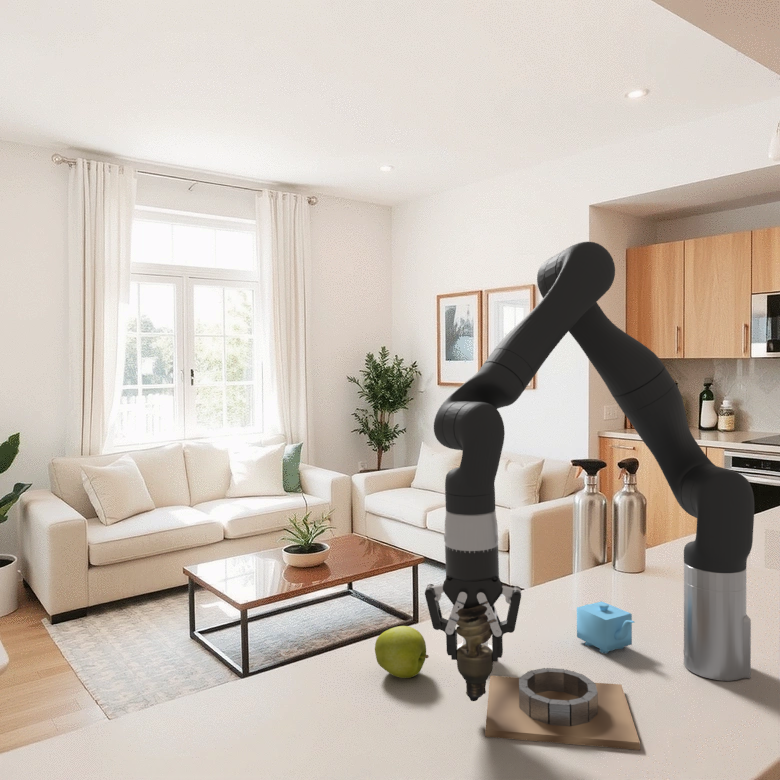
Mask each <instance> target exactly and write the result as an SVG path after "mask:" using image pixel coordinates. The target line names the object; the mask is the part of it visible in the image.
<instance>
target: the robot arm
mask: <svg viewBox="0 0 780 780" xmlns="http://www.w3.org/2000/svg"><path fill="white" fill-rule="evenodd" d="M536 276H537V277H536V278H537V279H536V283H537V287H538V290H539V293H540V295H541V297H542V299H541V300H540V302H539V303H537V305H536V306H535V307H534V308H533V309H532V310H531V311H530V312H529V313H528V314H527V315H526V316H524V318H523V319H522V320H521V321H520V322H519V323H518V324H516V325H515V327H513V328H512V329H511V330H510V331H509V333H507V334H506V335H505V336H504V337H503V339H502V340H501V341H500V342H499V343H498V344H497V346H496V347H495V348H494V349H493V351H492V352H491V353H490V355H489V356H488V357H487V359H486V360H485V361H484V363H483V364H481V365H482V366H481V367H480V368H479V370H478V371H477V373H475V374H473V376H472V377H470V378H469V379H468V380H467V381H465V382H464V383H462V385H460V386H459V387H457V389H455V391H454V392H453V393H451V394H450V395H449V396H448V397H447V398H446V399H445V400H444V402H442V404H441V405H440V407H439V409H438V410H437V413H436V415H435V416H434V421H433V434H434V436H435V438H436V440H437V442H439V444H441V445H442V446H444V447H446V448H448V449H451V450H457V451H462V453H461V454H462V455H461V459H460V460H461V461H460V465H459V467H455V468H452V469H451V470H449V471H448V472H447V473H446V476H445V482H444V483H445V484H444V492H445V494H444V495H445V498H444V500H445V517H444V518H445V519H444V535H443V541H444V551H445V552H444V554H445V555H444V556H445V558H444V559H445V579H444V580H443V583H440V584H435V585H434V584H433V583H429V584H427V585H426V588H425V590H424V596H425V601H426V605H427V609H428V612H429V613H428V614H429V616H430V620H431V621H430V622H431V624H432V628H433V629H434V630H436V631H439V630H440V631H442V632H444V633H445V637H446V638H445V640H446V641H445V643H446V645H445V646H446V654H447V656H450V657H451V659H450V660H452V661H453V660H455V661H457V654H456V652H457V645H458V634H457V632H456V628H457V627H456V626H457V623H456V622H457V621H458V620H459V616H458V614H457V613H456V612H458V610H459V609H469V608H474V607H476V606H479V605H481V606H486V607H487V611H486V612H485V615H486V616H487V617H488V620H487V621H488V623H489V624H490V626H491V629H492V631H493V633H492V635H491V645H492V652H493V663H495V662H497V663H499V658H502V657H503V652H504V651H503V650H504V649H503V648H504V646H503V644H504V643H503V636H504V635H505V634H507V633H514V631H515V629H516V626H517V625H516V624H517V620H518V619H517V618H518V614H519V609H520V604H521V599H522V588H521V587H520V586H518V585H514V586H513V587H511V586H507V585H503V582H502V581H501V579H500V567H499V566H500V563H499V559H500V558H499V530H498V520H497V515H496V513H497V512H496V490H495V482H496V481H495V480H496V476H497V474H498V473H497V472H498V470H499V465H500V460H501V455H502V452H503V447H504V443H505V424H504V421H503V417H502V415H501V413H500V412H499V410H498V409H501V408H505V407H508V406H511V405H513V404H514V403H516V401H518V399H519V398H520V396H521V395H522V394H523V392H524V391H525V390H526V388H527V387H528V386H529V384H530V383H531V381H532V380H533V378H534V377H535V375H536V374H537V373H538V371H539V370H540V368H541V367H542V366H543V364H544V363H545V362H546V360H547V359H548V358H549V356H550V354H551V353H552V352H553V351H554V349H556V347H557V346H558V344H559V343H560V342H561V341H562V339H563V338H564V337H565V335H567V333H568V332H569V335H571V336H572V338H573V339H574V340H575V341H576V343H577V344H578V345H579V347H580V348H581V350H582V351H583V352H584V354H585V356H586V357H587V358H588V361H590V363H591V365H592V366H593V367H594V369H595V370H596V372H597V373H598V375H599V376H600V378H601V379H602V381H603V382H604V384H605V386H606V387H607V389H608V391H609V393H610V394H611V396H612V397H613V399H614V400H615V402H616V404H617V405H618V407H619V409H621V411H622V413H623V414H624V415H625V416H626V418H627V419H628V421H629V422H630V424H631V425H632V427H633V428H634V429H635V431H636V433H637V435H638V436H639V437H640V439H641V440H642V441H643V443H644V445H646V448H647V449H649V451H650V453H651V454H652V456H653V457H654V459H655V460H656V462H657V464H658V466H659V468H660V470H661V471H662V474H663V476H664V477H665V478H664V479H665V480H666V482H667V484H668V485H669V488H670V490H671V492H672V494H673V496H674V498H675V499H676V501H677V503H678V505H679V506H680V507H681V509H683V511H684V512H686V513H687V514H688V515H690V516H692V517H694V518H695V519H696V531H695V539H694V540H691V541H690V542H687V543H686V544H685V545H684V548H683V664H684V666H685V668H686V669H687V670H689V671H690V672H691V673H693V674H696V675H697V676H700V677H703V678H707V679H711V680H715V681H716V680H717V681H726V682H727V681H729V682H731V681H736V680H741V679H750V678H751V675H752V674H751V673H752V672H751V671H752V670H751V669H752V668H751V667H752V665H751V664H752V663H751V661H752V660H751V659H752V658H751V657H752V652H751V651H752V648H751V645H752V641H751V640H752V639H751V638H752V622H751V618H750V617H749V615H748V614H747V561H748V558H749V556H750V553H751V551H752V547H753V539H754V538H753V537H754V525H755V524H754V523H755V496H754V492H753V488H752V486H751V483H750V482H749V480H748V479H747V478H746V477H745V476H744V475H743V474H741V473H740V472H737V471H736V470H733V469H728V468H724V467H722V466H721V467H720V466H718V465H715V464H714V463H713V462H712V461H711V460H710V459H709V457H708V456H707V455H706V453H705V452H704V451H703V449H702V448H701V447H700V445H699V443H698V442H697V441H696V439H695V438H694V436H693V434H692V431H691V430H690V427H689V424H688V419H687V415H686V414H687V413H686V408H685V405H684V400H683V397H682V394H681V390H680V389H679V387H678V385H677V383H676V382H675V380H674V378H673V377H672V376H671V374H670V372H669V370H668V369H667V368H666V366H665V365H664V363H663V362H662V360H661V359H660V357H658V356H657V354H656V353H655V352H654V351H652V350H651V349H650V348H649V347H648V346H646V345H645V344H643V343H642V342H640V341H639V340H637V339H636V338H634V337H633V336H631V335H629V334H628V333H627V332H625V331H623V330H622V329H621V328H619V327H618V326H617V325H616V324H614V322H613V321H611V319H609V318H608V316H607V315H606V314H605V313H604V310H603V309H602V308H601V306H600V305H599V304H598V301H599V300H600V299H601V298H602V297H603V296H604V295H605V294H606V293H607V292H608V291H609V290H610V289H611V287H612V286H613V284H614V280H615V277H616V265H615V262H614V258H613V257H612V255H611V253H610V252H609V251H608V249H607V248H605V247H604V245H601V244H600V243H598V242H595V241H582V242H578V243H576V244H572V245H570V246H569V247H567V248H565V249H563V250H562V251H560V252H558V253H557V254H555V255H553V256H551V257H550V258H548V259H547V260H545V261H543V263H542V264H540V267H539V268H538V271H537V275H536ZM443 593H444V594H445V596H446V597H447V598H448V600H449V601H450V602H451V603H452V605H453V606H452V608H451V610H450V614H449V617H448V619H447V618H444V617H443V613H442V610H441V606H440V602H439V601H441V598H442V594H443ZM502 595H504V597H505V602H506V604H509V606H508V610H507V616H506V619H505V620H503V621H501V619H500V617H499V615H498V611H497V608H496V607H495V603H497V601H498V600H499V598H500V597H501V596H502Z"/></svg>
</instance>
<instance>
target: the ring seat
mask: <svg viewBox="0 0 780 780" xmlns="http://www.w3.org/2000/svg"><path fill="white" fill-rule="evenodd" d="M595 683H596V682H594V681H593V680H592V679H591V678H589V677H587V676H586V675H584V674H583V673H580V672H576V671H573V670H570V669H565V668H556V667H555V668H554V667H552V668H551V667H542V668H538V669H533V670H529V671H527V672H525V673H523V674H522V675H521V676H519V707H520V709H521V710H522V711H523V712H524V713H525V714H526V715H527V716H528V717H531V718H532V719H534V720H537V721H540V722H543V723H545V724H549V723H550V725H557V726H569V727H570V726H576V725H580V724H584V723H588V722H590V721H591V720H592V719H593V718H594V717H595V716H596V715H597V713H598V692H597V688H596V684H595ZM545 691H556V692H565V693H568V694H571V695H574V696H577V697H579V698H577V699H573V700H568V701H567V700H553V699H548V698H545V697H542V696H540V695H537V694H536V693H541V692H545Z"/></svg>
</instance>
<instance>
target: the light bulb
mask: <svg viewBox="0 0 780 780" xmlns="http://www.w3.org/2000/svg"><path fill="white" fill-rule="evenodd" d="M486 611H487V607H486V606H481V605H479V606H476V607H474V608H469V609H459V610H458V612H456V613H457V614H458V616H459V620H458V621H457V622H456V623H457V624H456V626H457V627H455V629H456V632H457V635H459V636H460V637H461V638H462V637H463V638H464V639H465V640H466V644H464V645H462V646H461V647H459V648H458V649H457V652H456V654H457V660H456V665H457V670H458V672H459V674H460V675H461V676H462V678H463V679H464V680H465V685H466V691H465V694H466V695H467V697H468V698H469V699H470V701H471V702H476V701H478V699H480V698H481V697H482V696H483V695H486V693H487V691H486V684H487V681H488V679H489V678H490V676H492V675H491V674H492V672H493V670H494V662H493V652H492V650H491V649H490V648H489V647H488V646H486V645H482V644H483V643H485V642H487V641H488V642H489V640H490V639H491V638H492V633H493V631H492V629H491V626H490V624H489V623H488V621H487V620H488V617H487V616H486V615H485V612H486Z"/></svg>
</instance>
